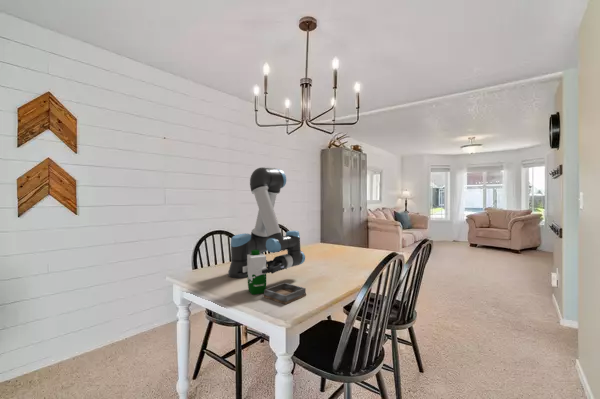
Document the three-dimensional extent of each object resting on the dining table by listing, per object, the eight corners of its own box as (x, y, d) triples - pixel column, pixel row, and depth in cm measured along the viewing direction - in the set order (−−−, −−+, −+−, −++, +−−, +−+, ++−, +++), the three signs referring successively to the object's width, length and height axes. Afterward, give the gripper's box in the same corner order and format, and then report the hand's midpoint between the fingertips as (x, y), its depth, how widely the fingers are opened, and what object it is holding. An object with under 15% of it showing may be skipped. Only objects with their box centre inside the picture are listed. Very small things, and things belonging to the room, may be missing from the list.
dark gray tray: (263, 297, 137) (263, 289, 137) (284, 289, 147) (284, 282, 147) (285, 304, 128) (285, 296, 128) (306, 295, 138) (306, 288, 138)
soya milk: (263, 287, 150) (262, 248, 150) (268, 293, 142) (268, 252, 141) (246, 290, 147) (245, 250, 146) (250, 296, 138) (249, 253, 138)
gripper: (297, 272, 151) (265, 283, 134) (268, 266, 165) (235, 275, 148) (297, 258, 150) (264, 267, 133) (268, 252, 164) (235, 260, 147)
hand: (249, 271), depth 140 cm, fingers closed on soya milk, 9 cm apart
